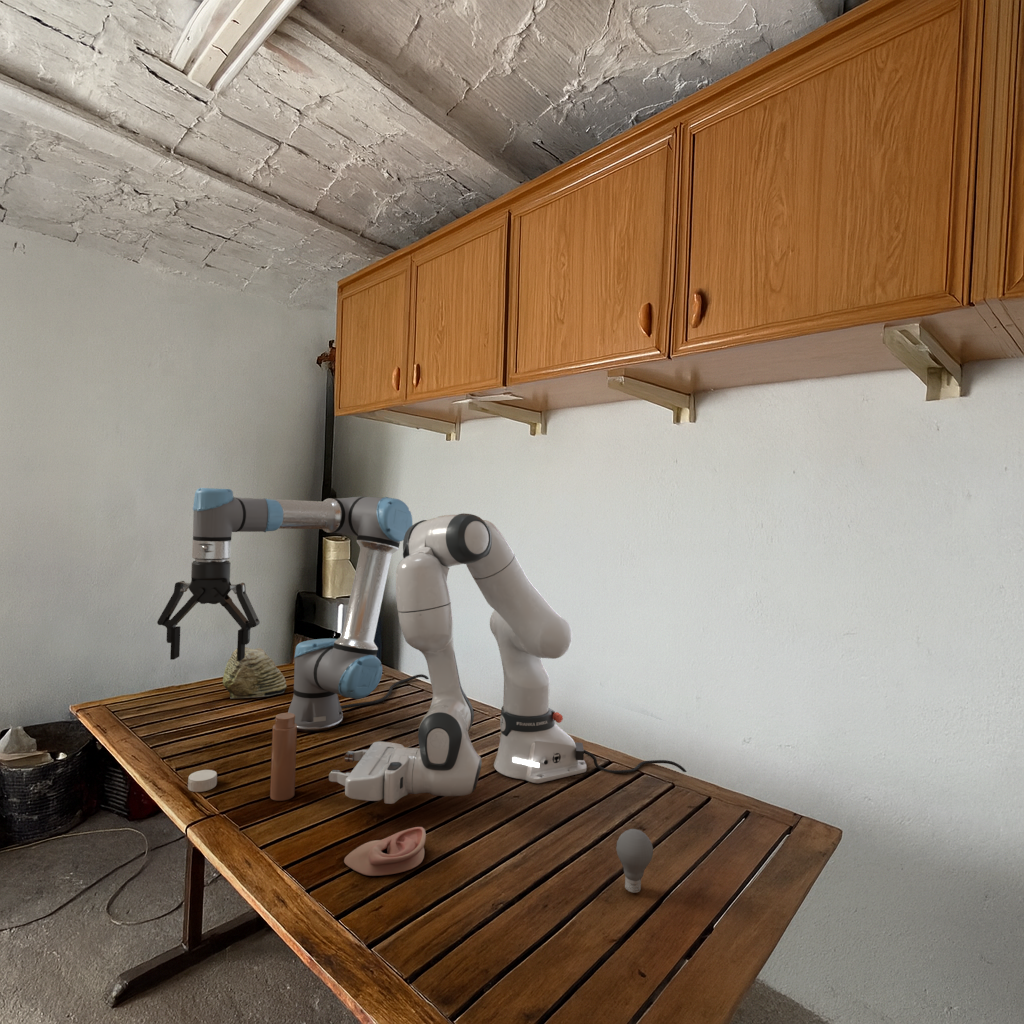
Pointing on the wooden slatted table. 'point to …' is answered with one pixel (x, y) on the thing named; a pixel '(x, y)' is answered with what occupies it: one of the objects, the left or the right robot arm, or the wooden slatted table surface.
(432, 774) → the right robot arm
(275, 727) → the brown bottle
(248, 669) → the fossil
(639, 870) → the light bulb
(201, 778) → the lid
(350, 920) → the wooden slatted table surface
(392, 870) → the anatomical model
